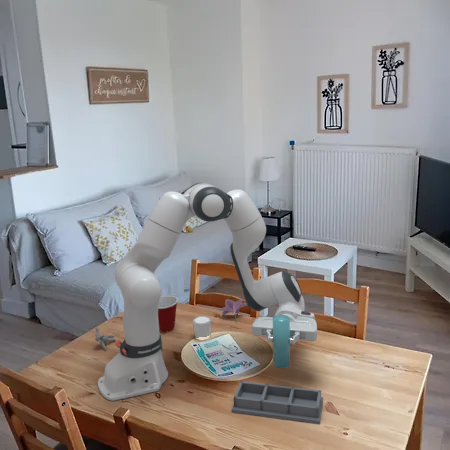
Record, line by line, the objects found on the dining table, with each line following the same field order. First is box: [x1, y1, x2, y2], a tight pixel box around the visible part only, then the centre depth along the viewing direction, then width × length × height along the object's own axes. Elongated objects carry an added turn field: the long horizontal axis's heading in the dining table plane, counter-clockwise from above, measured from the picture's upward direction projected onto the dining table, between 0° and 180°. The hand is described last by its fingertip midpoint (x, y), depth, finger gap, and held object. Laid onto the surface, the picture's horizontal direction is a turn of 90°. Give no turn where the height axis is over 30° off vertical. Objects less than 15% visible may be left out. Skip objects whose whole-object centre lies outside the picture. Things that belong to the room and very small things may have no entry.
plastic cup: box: [158, 295, 179, 333], centre depth 193 cm, size 11×11×12 cm
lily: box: [218, 298, 248, 323], centre depth 200 cm, size 12×12×10 cm
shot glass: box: [192, 315, 212, 339], centre depth 186 cm, size 7×7×7 cm
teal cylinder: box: [272, 315, 291, 369], centre depth 148 cm, size 5×5×15 cm
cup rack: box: [231, 380, 324, 425], centre depth 144 cm, size 25×11×4 cm, turn 74°
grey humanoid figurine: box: [94, 327, 117, 352], centre depth 184 cm, size 10×6×9 cm
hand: (280, 341), depth 147 cm, fingers closed on teal cylinder, 5 cm apart
